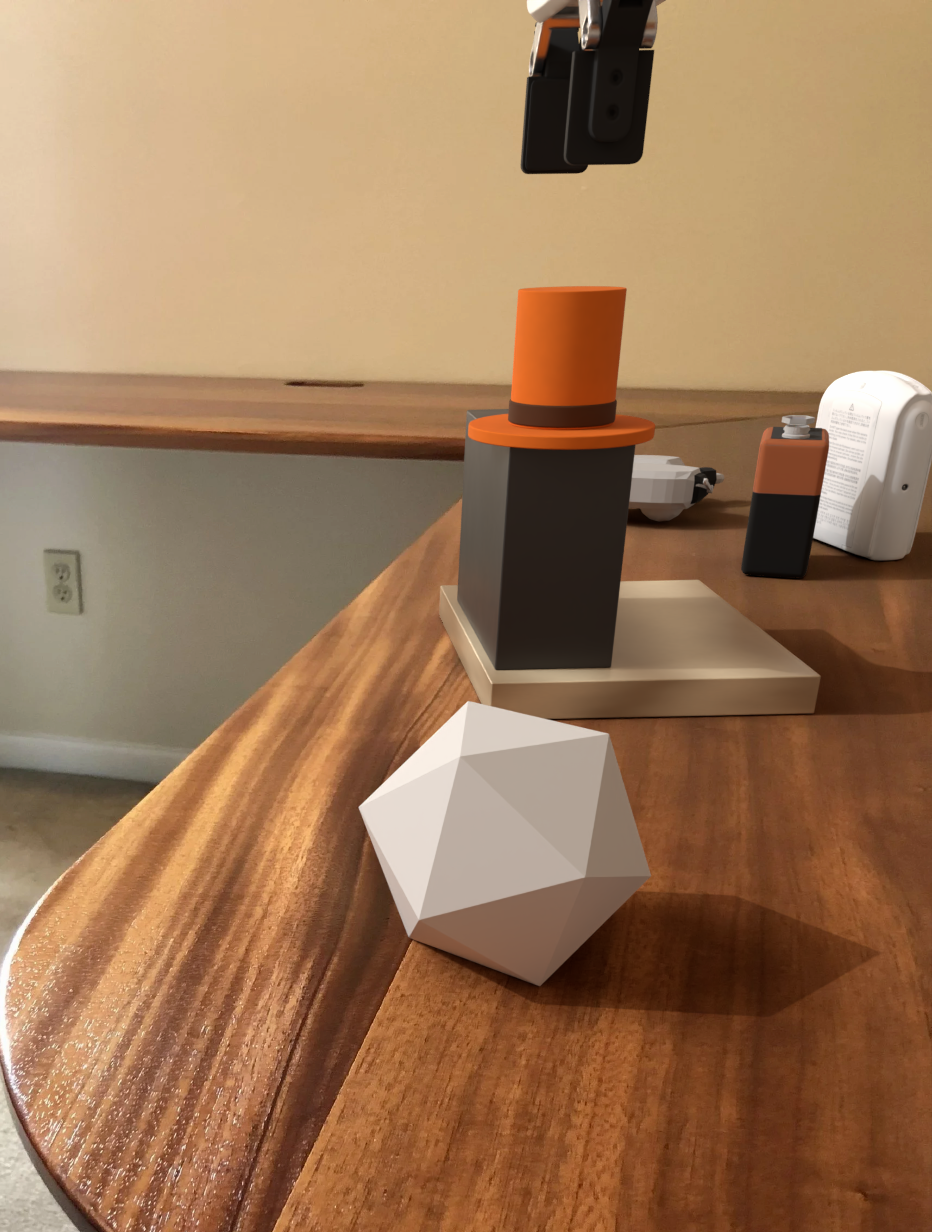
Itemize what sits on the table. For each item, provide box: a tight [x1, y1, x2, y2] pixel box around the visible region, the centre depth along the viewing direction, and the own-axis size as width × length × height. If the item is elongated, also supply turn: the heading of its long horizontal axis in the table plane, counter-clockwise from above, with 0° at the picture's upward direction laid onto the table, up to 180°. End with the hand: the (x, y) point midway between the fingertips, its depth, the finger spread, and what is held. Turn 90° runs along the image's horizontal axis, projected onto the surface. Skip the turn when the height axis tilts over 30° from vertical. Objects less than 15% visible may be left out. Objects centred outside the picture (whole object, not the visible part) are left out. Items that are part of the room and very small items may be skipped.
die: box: [358, 700, 652, 987], centre depth 43 cm, size 8×9×10 cm
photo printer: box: [813, 370, 932, 562], centre depth 95 cm, size 10×4×12 cm, turn 11°
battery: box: [740, 414, 829, 579], centre depth 91 cm, size 4×7×10 cm, turn 159°
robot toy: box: [629, 454, 725, 522], centre depth 111 cm, size 12×4×15 cm
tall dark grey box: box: [457, 408, 637, 670], centre depth 70 cm, size 6×14×11 cm, turn 0°
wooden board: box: [438, 579, 822, 720], centre depth 74 cm, size 16×20×2 cm
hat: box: [468, 285, 656, 450], centre depth 62 cm, size 9×9×7 cm
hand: (576, 168), depth 59 cm, fingers open, 9 cm apart
